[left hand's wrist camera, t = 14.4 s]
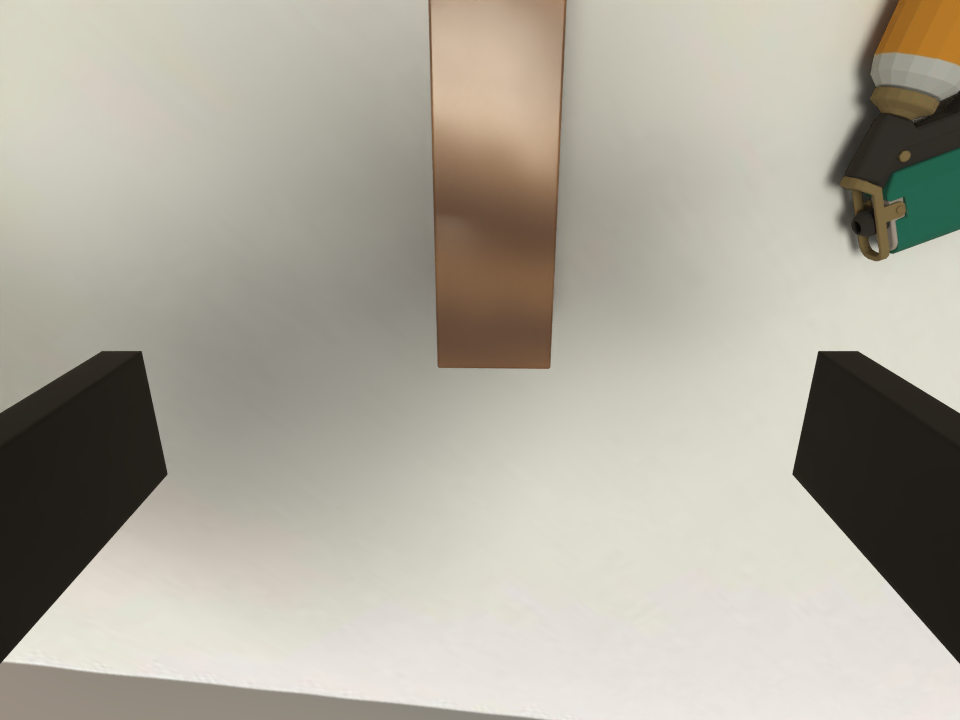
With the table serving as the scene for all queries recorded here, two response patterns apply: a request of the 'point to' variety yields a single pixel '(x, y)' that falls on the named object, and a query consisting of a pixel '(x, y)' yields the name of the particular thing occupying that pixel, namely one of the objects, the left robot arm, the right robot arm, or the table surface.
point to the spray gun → (911, 133)
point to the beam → (495, 177)
